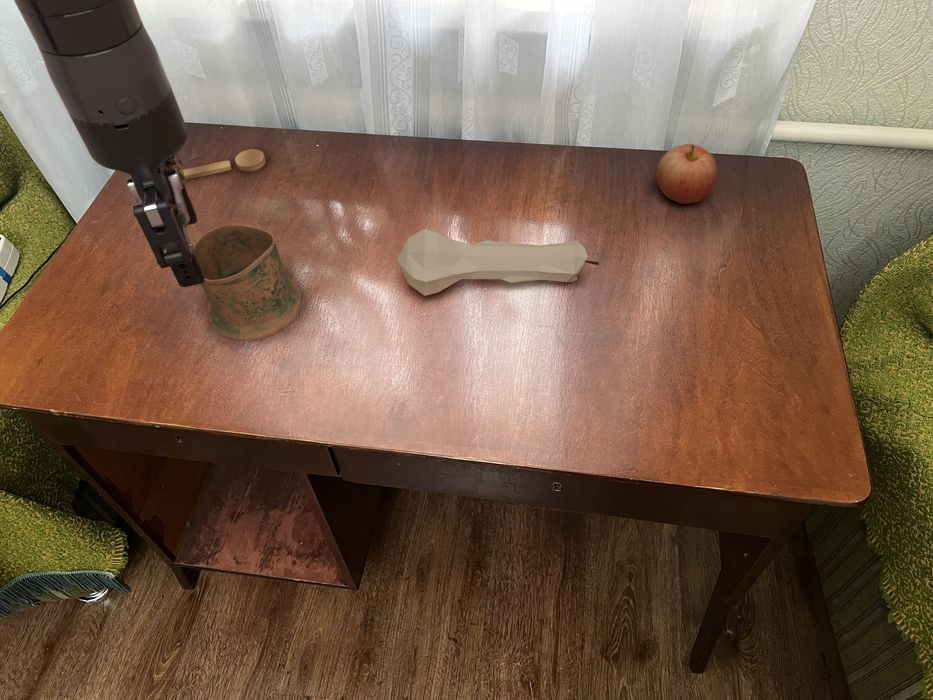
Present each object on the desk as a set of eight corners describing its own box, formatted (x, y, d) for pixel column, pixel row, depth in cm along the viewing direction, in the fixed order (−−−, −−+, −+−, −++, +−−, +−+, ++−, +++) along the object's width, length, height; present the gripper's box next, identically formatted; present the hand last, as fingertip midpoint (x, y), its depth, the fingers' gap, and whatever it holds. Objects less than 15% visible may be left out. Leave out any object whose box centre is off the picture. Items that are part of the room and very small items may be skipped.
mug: (218, 247, 94) (188, 173, 85) (320, 293, 88) (299, 219, 79) (154, 301, 88) (114, 229, 79) (258, 354, 82) (228, 283, 73)
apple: (655, 173, 101) (666, 125, 95) (712, 182, 100) (726, 133, 93) (648, 208, 96) (658, 159, 90) (707, 217, 95) (722, 169, 89)
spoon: (164, 190, 102) (162, 184, 102) (163, 172, 105) (161, 167, 104) (267, 168, 105) (265, 162, 104) (263, 152, 108) (262, 146, 107)
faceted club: (399, 252, 91) (589, 249, 92) (399, 310, 88) (595, 307, 88) (395, 213, 83) (602, 211, 84) (394, 276, 80) (610, 273, 80)
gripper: (67, 55, 55) (145, 214, 68) (59, 155, 47) (151, 316, 59) (164, 38, 57) (223, 197, 69) (173, 132, 48) (239, 294, 61)
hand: (189, 251), depth 64 cm, fingers open, 8 cm apart
